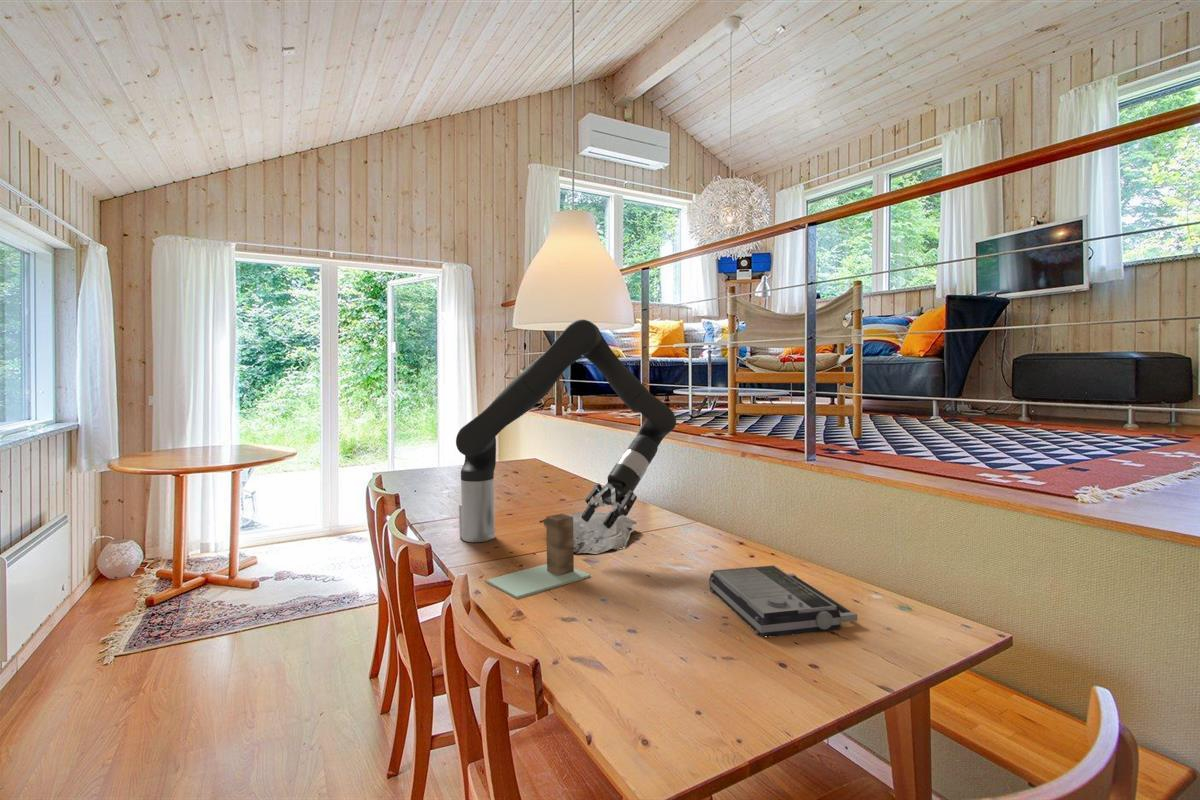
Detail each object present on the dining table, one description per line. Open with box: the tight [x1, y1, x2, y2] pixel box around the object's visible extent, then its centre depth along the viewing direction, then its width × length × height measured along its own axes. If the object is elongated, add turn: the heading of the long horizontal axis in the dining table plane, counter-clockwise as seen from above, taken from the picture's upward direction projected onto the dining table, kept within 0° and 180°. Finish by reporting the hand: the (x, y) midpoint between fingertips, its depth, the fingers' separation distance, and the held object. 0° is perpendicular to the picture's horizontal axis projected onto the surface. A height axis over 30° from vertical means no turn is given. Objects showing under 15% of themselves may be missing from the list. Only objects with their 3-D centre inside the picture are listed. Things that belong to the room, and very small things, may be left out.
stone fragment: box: [539, 511, 638, 555], centre depth 167 cm, size 25×29×6 cm
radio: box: [708, 565, 858, 638], centre depth 118 cm, size 24×5×20 cm
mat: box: [485, 563, 591, 600], centre depth 135 cm, size 20×13×1 cm, turn 130°
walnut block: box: [545, 513, 575, 576], centre depth 138 cm, size 4×4×13 cm
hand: (594, 523), depth 145 cm, fingers open, 8 cm apart
